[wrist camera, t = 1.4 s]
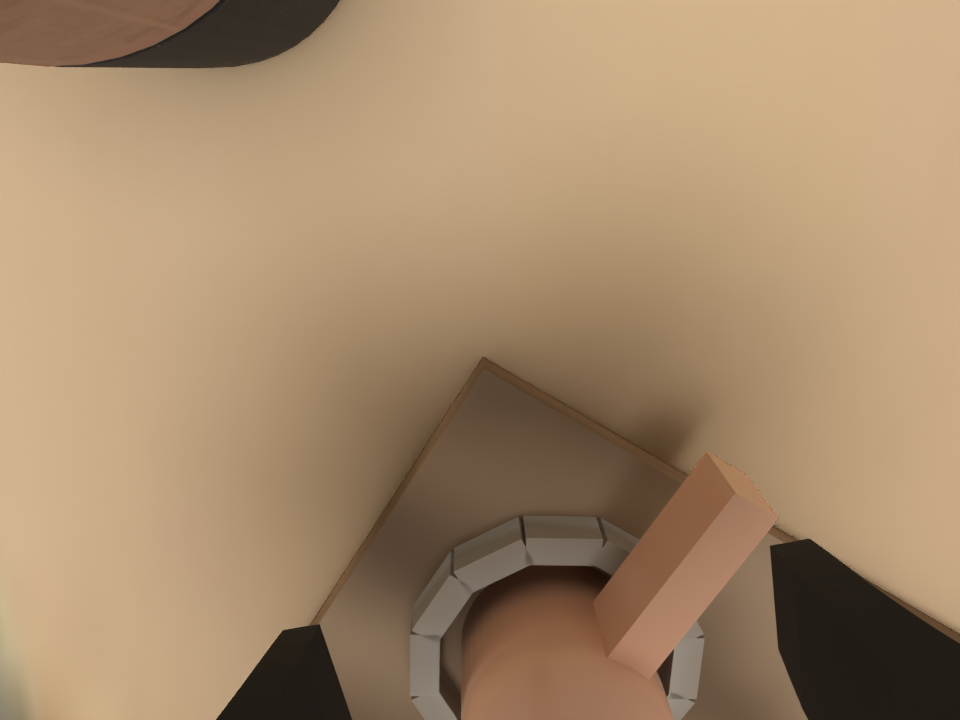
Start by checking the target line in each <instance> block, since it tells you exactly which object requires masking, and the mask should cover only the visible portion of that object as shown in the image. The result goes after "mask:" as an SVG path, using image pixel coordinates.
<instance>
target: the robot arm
mask: <svg viewBox="0 0 960 720" xmlns="http://www.w3.org/2000/svg"><path fill="white" fill-rule="evenodd" d="M770 554H771V566H772V579H773V591H774V603H775V616H776V628H777V640H778V650H779V652H780V655H781V657H782V660H783V662H784V665H785V667H786V670H787V673H788V675H789V678H790V680H791V683H792V685H793V687H794V690H795V692H796V695H797V697H798V699H799V702H800V704H801V707H802V709H803V711H804V713H805V715H806V717H807V719H808V720H960V643H958V642H957V641H955V640H953V639H952V638H950V637H948V636H947V635H945V634H944V633H942V632H940V631H939V630H937V629H936V628H934V627H933V626H931V625H930V624H928V623H927V622H925V621H924V620H922V619H921V618H919V617H918V616H916V615H915V614H913V613H912V612H910V611H909V610H907V609H906V608H905V607H903V606H902V605H900V604H899V603H897V602H896V601H894V600H893V599H891V598H890V597H889V596H887V595H886V594H884V593H883V592H882V591H880V590H879V589H877V588H876V587H875V586H873V585H872V584H870V583H869V582H868V581H866V580H865V579H864V578H862V577H861V576H859V575H858V574H857V573H855V572H854V571H853V570H851V569H850V568H849V567H847V566H846V565H845V564H843V563H842V562H841V561H839V560H838V559H837V558H835V557H834V556H833V555H831V554H830V553H829V552H827V551H826V550H824V549H823V548H822V547H820V546H819V545H818V544H816V543H815V542H813V541H812V540H811V539H805V540H799V541H793V542H788V543H782V544H776V545H770ZM216 720H352V717H351V715H350V712H349V709H348V706H347V703H346V700H345V697H344V694H343V691H342V688H341V685H340V682H339V679H338V676H337V674H336V671H335V668H334V665H333V662H332V659H331V656H330V653H329V650H328V647H327V644H326V641H325V638H324V635H323V632H322V630H321V627H320V624H317V625H311V626H305V627H300V628H294V629H288V630H283V631H282V632H281V634H280V635H279V636H278V638H277V639H276V640H275V641H274V643H273V644H272V645H271V647H270V648H269V650H268V651H267V652H266V654H265V655H264V656H263V658H262V659H261V660H260V662H259V663H258V664H257V666H256V667H255V668H254V670H253V671H252V673H251V674H250V675H249V677H248V678H247V679H246V681H245V682H244V683H243V685H242V686H241V687H240V689H239V690H238V691H237V693H236V694H235V695H234V697H233V698H232V699H231V701H230V702H229V703H228V705H227V706H226V707H225V709H224V710H223V711H222V712H221V714H220V715H219V716H218V718H217V719H216Z"/></svg>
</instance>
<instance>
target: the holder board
mask: <svg viewBox="0 0 960 720" xmlns="http://www.w3.org/2000/svg"><path fill="white" fill-rule="evenodd" d="M687 477H688V476H687V475H685V474H683V473H681V472H680V471H678V470H676V469H674V468H673V467H671V466H669V465H668V464H666V463H664V462H662V461H661V460H659V459H657V458H656V457H654V456H652V455H650V454H649V453H647V452H645V451H644V450H642V449H640V448H638V447H637V446H635V445H633V444H632V443H630V442H628V441H626V440H625V439H623V438H621V437H619V436H618V435H616V434H614V433H613V432H611V431H609V430H607V429H606V428H604V427H602V426H601V425H599V424H597V423H595V422H594V421H592V420H590V419H589V418H587V417H585V416H583V415H582V414H580V413H578V412H577V411H575V410H573V409H571V408H570V407H568V406H566V405H564V404H563V403H561V402H559V401H558V400H556V399H554V398H552V397H551V396H549V395H547V394H546V393H544V392H542V391H540V390H539V389H537V388H535V387H534V386H532V385H530V384H528V383H527V382H525V381H523V380H522V379H520V378H518V377H516V376H515V375H513V374H511V373H509V372H508V371H506V370H504V369H503V368H501V367H499V366H497V365H496V364H494V363H492V362H491V361H489V360H487V359H485V358H484V357H483V358H482V360H481V361H480V363H479V364H478V366H477V367H476V369H475V370H474V372H473V373H472V375H471V377H470V378H469V380H468V381H467V383H466V384H465V386H464V387H463V389H462V391H461V392H460V394H459V395H458V397H457V398H456V400H455V401H454V403H453V405H452V406H451V408H450V409H449V411H448V412H447V414H446V415H445V417H444V418H443V420H442V422H441V423H440V425H439V426H438V428H437V429H436V431H435V432H434V434H433V436H432V437H431V439H430V440H429V442H428V443H427V445H426V446H425V448H424V450H423V451H422V453H421V454H420V456H419V457H418V459H417V460H416V462H415V463H414V465H413V467H412V468H411V470H410V471H409V473H408V474H407V476H406V477H405V479H404V481H403V482H402V484H401V485H400V487H399V488H398V490H397V491H396V493H395V495H394V496H393V498H392V499H391V501H390V502H389V504H388V505H387V507H386V508H385V510H384V512H383V513H382V515H381V516H380V518H379V519H378V521H377V522H376V524H375V526H374V527H373V529H372V530H371V532H370V533H369V535H368V536H367V538H366V540H365V541H364V543H363V544H362V546H361V547H360V549H359V550H358V552H357V554H356V555H355V557H354V558H353V560H352V561H351V563H350V564H349V566H348V567H347V569H346V571H345V572H344V574H343V575H342V577H341V578H340V580H339V581H338V583H337V585H336V586H335V588H334V589H333V591H332V592H331V594H330V595H329V597H328V599H327V600H326V602H325V603H324V605H323V606H322V608H321V609H320V611H319V612H318V614H317V616H316V617H315V619H314V620H313V622H312V623H311V625H317V624H320V627H321V630H322V632H323V635H324V638H325V641H326V644H327V647H328V650H329V653H330V656H331V659H332V662H333V665H334V668H335V671H336V674H337V676H338V679H339V682H340V685H341V688H342V691H343V694H344V697H345V700H346V703H347V706H348V709H349V712H350V715H351V717H352V720H461V638H462V629H463V625H464V621H465V618H466V616H467V613H468V611H469V609H470V607H471V605H472V604H473V602H474V600H475V599H476V598H477V597H478V595H479V594H480V593H481V592H482V591H483V590H484V589H485V588H486V587H487V586H488V585H490V584H492V583H494V582H496V581H498V580H500V579H502V578H504V577H506V576H509V575H511V574H513V573H515V572H517V571H519V570H521V569H523V568H525V567H527V566H529V565H563V566H588V567H591V568H594V569H596V570H598V571H600V572H602V573H604V574H605V575H607V576H609V577H610V578H612V576H613V575H614V574H615V572H616V571H617V570H618V568H619V567H620V566H621V564H622V563H623V562H624V560H625V559H626V558H627V556H628V555H629V554H630V552H631V551H632V550H633V548H634V547H635V546H636V544H637V543H638V542H639V541H640V539H641V538H642V537H643V535H644V534H645V533H646V531H647V530H648V529H649V527H650V526H651V525H652V523H653V522H654V521H655V519H656V518H657V517H658V515H659V514H660V513H661V511H662V510H663V509H664V507H665V506H666V505H667V503H668V502H669V501H670V499H671V498H672V497H673V495H674V494H675V493H676V492H677V490H678V489H679V488H680V486H681V485H682V484H683V482H684V481H685V480H686V478H687ZM793 541H798V540H797V539H795V538H793V537H791V536H790V535H788V534H786V533H785V532H783V531H781V530H779V529H778V528H776V527H774V526H772V527H771V529H770V530H769V531H768V532H767V534H766V535H765V536H764V537H763V539H762V540H761V541H760V542H759V544H758V545H757V546H756V547H755V549H754V550H753V551H752V552H751V554H750V555H749V556H748V557H747V559H746V560H745V561H744V562H743V564H742V565H741V566H740V567H739V568H738V570H737V571H736V572H735V573H734V575H733V576H732V577H731V578H730V580H729V581H728V582H727V583H726V585H725V586H724V587H723V588H722V590H721V591H720V592H719V593H718V595H717V596H716V597H715V598H714V600H713V601H712V602H711V603H710V605H709V606H708V607H707V608H706V610H705V611H704V612H703V613H702V615H701V616H700V617H699V618H698V619H697V621H696V622H695V623H694V624H693V626H692V627H691V628H690V629H689V631H688V632H687V633H686V634H685V636H684V637H683V638H682V639H681V641H680V642H679V643H678V644H677V646H676V647H675V648H674V649H673V651H672V652H671V653H670V654H669V656H668V657H667V658H666V659H665V661H664V662H663V663H662V664H661V666H660V667H659V668H658V669H657V671H658V674H659V677H660V680H661V683H662V686H663V689H664V691H665V694H666V697H667V700H668V703H669V706H670V709H671V712H672V715H673V718H674V720H808V719H807V717H806V715H805V713H804V711H803V709H802V707H801V704H800V702H799V699H798V697H797V695H796V692H795V690H794V687H793V685H792V683H791V680H790V678H789V675H788V673H787V670H786V667H785V665H784V662H783V660H782V657H781V655H780V652H779V650H778V640H777V628H776V616H775V603H774V591H773V579H772V566H771V554H770V545H776V544H782V543H788V542H793ZM866 581H867V580H866ZM868 582H869V581H868ZM869 583H870V582H869ZM870 584H872V583H870ZM872 585H873V586H875V587H876V588H877V589H879V590H880V591H882V592H883V593H884V594H886V595H887V596H889V597H890V598H891V599H893V600H894V601H896V602H897V603H899V604H900V605H902V606H903V607H905V608H906V609H907V610H909V611H910V612H912V613H913V614H915V615H916V616H918V617H919V618H921V619H922V620H924V621H925V622H927V623H928V624H930V625H931V626H933V627H934V628H936V629H937V630H939V631H940V632H942V633H944V634H945V635H947V636H948V637H950V638H952V639H953V640H955V641H957V642H958V643H960V634H958V633H956V632H955V631H953V630H951V629H950V628H948V627H946V626H944V625H943V624H941V623H939V622H937V621H936V620H934V619H932V618H931V617H929V616H927V615H925V614H924V613H922V612H920V611H919V610H917V609H915V608H913V607H912V606H910V605H908V604H907V603H905V602H903V601H901V600H900V599H898V598H896V597H895V596H893V595H891V594H889V593H888V592H886V591H884V590H882V589H881V588H879V587H877V586H876V585H874V584H872ZM311 625H310V626H311Z"/></svg>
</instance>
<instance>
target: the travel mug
mask: <svg viewBox="0 0 960 720" xmlns="http://www.w3.org/2000/svg"><path fill="white" fill-rule="evenodd" d="M338 2H339V0H0V62H1V63H12V64H24V65H36V66H56V67H129V68H215V67H234V66H240V65H245V64H250V63H255V62H259V61H262V60H265V59H268V58H271V57H274V56H276V55H278V54H280V53H282V52H284V51H286V50H288V49H290V48H292V47H294V46H295V45H297V44H298V43H299V42H301V41H302V40H303V39H305V38H306V37H308V36H309V35H310V34H311V33H312V32H313V31H314V30H315V29H316V28H317V27H318V26H320V25H321V24H322V23H323V22H324V20H325V19H326V18H327V17H328V15H329V14H330V13H331V11H332V10H333V9H334V8H335V6H336V5H337V3H338Z"/></svg>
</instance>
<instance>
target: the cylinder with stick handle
mask: <svg viewBox="0 0 960 720" xmlns="http://www.w3.org/2000/svg"><path fill="white" fill-rule="evenodd" d="M778 519H779V518H778V516H777V515H776V514H775V512H774V511H773V510H772V508H771V507H770V506H769V504H768V503H767V502H766V500H765V499H764V498H763V496H762V495H761V494H760V492H759V491H758V490H757V488H756V487H755V486H754V484H753V483H752V482H751V480H750V479H749V478H748V477H747V475H746V474H744V473H743V472H741V471H739V470H738V469H736V468H734V467H732V466H731V465H729V464H727V463H726V462H724V461H722V460H721V459H719V458H717V457H716V456H714V455H712V454H710V453H709V452H706V453H705V454H704V456H703V457H702V458H701V460H700V461H699V462H698V464H697V465H696V466H695V468H694V469H693V470H692V472H691V473H690V474H689V476H688V477H687V478H686V480H685V481H684V482H683V484H682V485H681V486H680V488H679V489H678V490H677V492H676V493H675V494H674V495H673V497H672V498H671V499H670V501H669V502H668V503H667V505H666V506H665V507H664V509H663V510H662V511H661V513H660V514H659V515H658V517H657V518H656V519H655V521H654V522H653V523H652V525H651V526H650V527H649V529H648V530H647V531H646V533H645V534H644V535H643V537H642V538H641V539H640V541H639V542H638V543H637V544H636V546H635V547H634V548H633V550H632V551H631V552H630V554H629V555H628V556H627V558H626V559H625V560H624V562H623V563H622V564H621V566H620V567H619V568H618V570H617V571H616V572H615V574H614V575H613V576H612V578H610V577H609V576H607V575H605V574H604V573H602V572H600V571H598V570H596V569H594V568H591V567H588V566H563V565H529V566H527V567H525V568H523V569H521V570H519V571H517V572H515V573H513V574H511V575H509V576H506V577H504V578H502V579H500V580H498V581H496V582H494V583H492V584H490V585H488V586H487V587H486V588H485V589H484V590H483V591H482V592H481V593H480V594H479V595H478V597H477V598H476V599H475V600H474V602H473V604H472V605H471V607H470V609H469V611H468V613H467V616H466V618H465V621H464V625H463V629H462V638H461V720H674V718H673V715H672V712H671V709H670V706H669V703H668V700H667V697H666V694H665V691H664V689H663V686H662V683H661V680H660V677H659V674H658V671H657V669H658V668H659V667H660V666H661V664H662V663H663V662H664V661H665V659H666V658H667V657H668V656H669V654H670V653H671V652H672V651H673V649H674V648H675V647H676V646H677V644H678V643H679V642H680V641H681V639H682V638H683V637H684V636H685V634H686V633H687V632H688V631H689V629H690V628H691V627H692V626H693V624H694V623H695V622H696V621H697V619H698V618H699V617H700V616H701V615H702V613H703V612H704V611H705V610H706V608H707V607H708V606H709V605H710V603H711V602H712V601H713V600H714V598H715V597H716V596H717V595H718V593H719V592H720V591H721V590H722V588H723V587H724V586H725V585H726V583H727V582H728V581H729V580H730V578H731V577H732V576H733V575H734V573H735V572H736V571H737V570H738V568H739V567H740V566H741V565H742V564H743V562H744V561H745V560H746V559H747V557H748V556H749V555H750V554H751V552H752V551H753V550H754V549H755V547H756V546H757V545H758V544H759V542H760V541H761V540H762V539H763V537H764V536H765V535H766V534H767V532H768V531H769V530H770V529H771V527H772V526H773V525H774V524H775V522H776V521H777V520H778Z"/></svg>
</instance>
